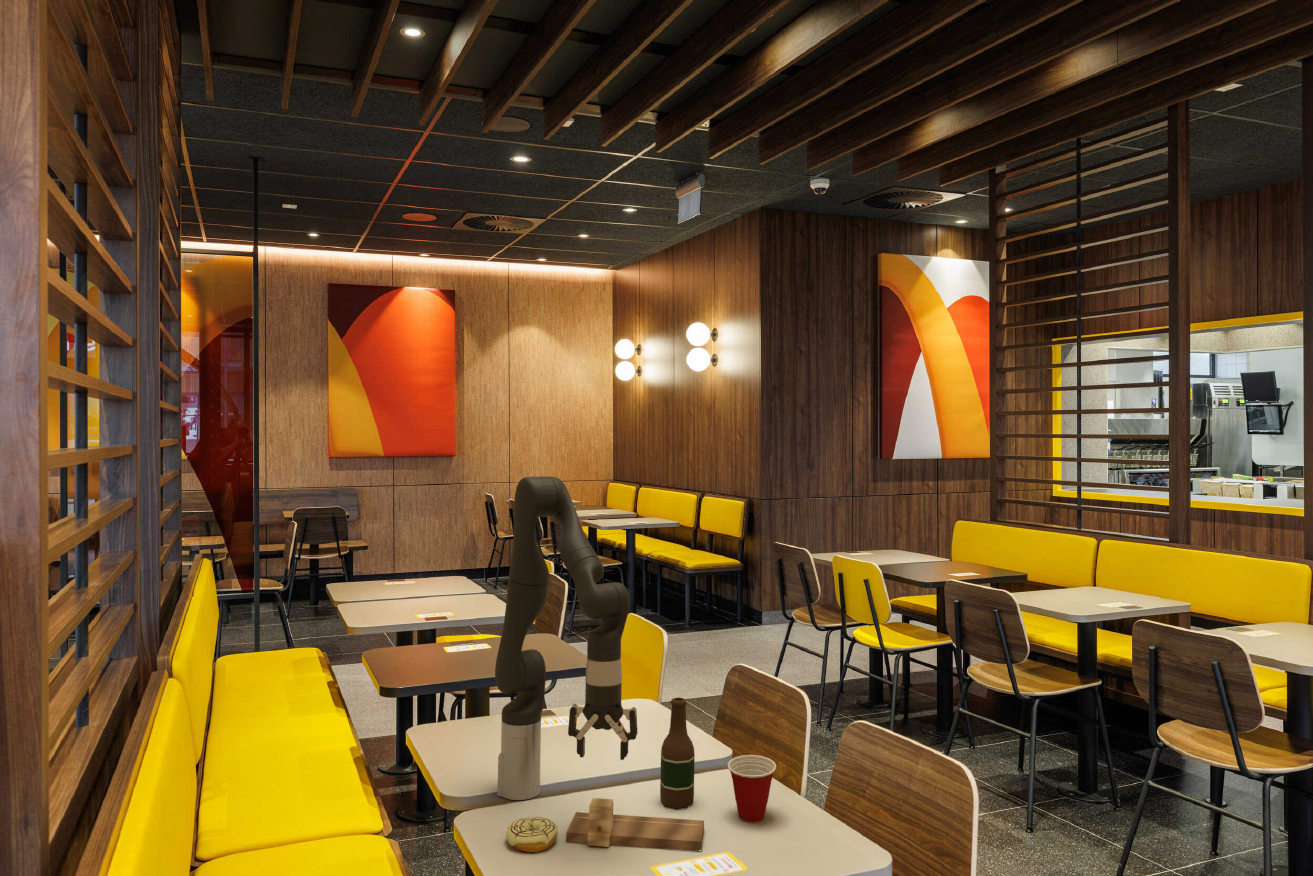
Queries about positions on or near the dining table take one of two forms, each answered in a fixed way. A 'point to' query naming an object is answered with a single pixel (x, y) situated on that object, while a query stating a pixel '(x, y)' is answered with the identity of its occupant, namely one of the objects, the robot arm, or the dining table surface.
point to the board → (643, 832)
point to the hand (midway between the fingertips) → (602, 757)
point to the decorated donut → (532, 834)
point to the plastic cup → (751, 785)
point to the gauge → (600, 822)
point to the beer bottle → (677, 761)
